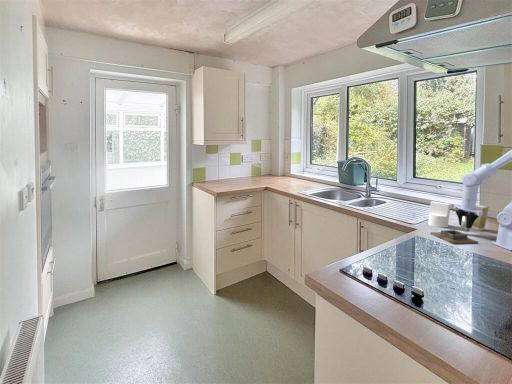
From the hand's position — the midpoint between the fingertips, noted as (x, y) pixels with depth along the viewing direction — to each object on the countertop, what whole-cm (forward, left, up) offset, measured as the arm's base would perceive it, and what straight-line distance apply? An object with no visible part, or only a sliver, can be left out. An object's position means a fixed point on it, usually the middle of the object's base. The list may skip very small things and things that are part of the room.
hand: (465, 226), depth 145 cm
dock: (-6, +11, -4) cm, 13 cm away
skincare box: (+7, -13, -4) cm, 15 cm away
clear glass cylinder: (0, 0, -2) cm, 2 cm away
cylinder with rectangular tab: (+15, +2, -4) cm, 16 cm away
